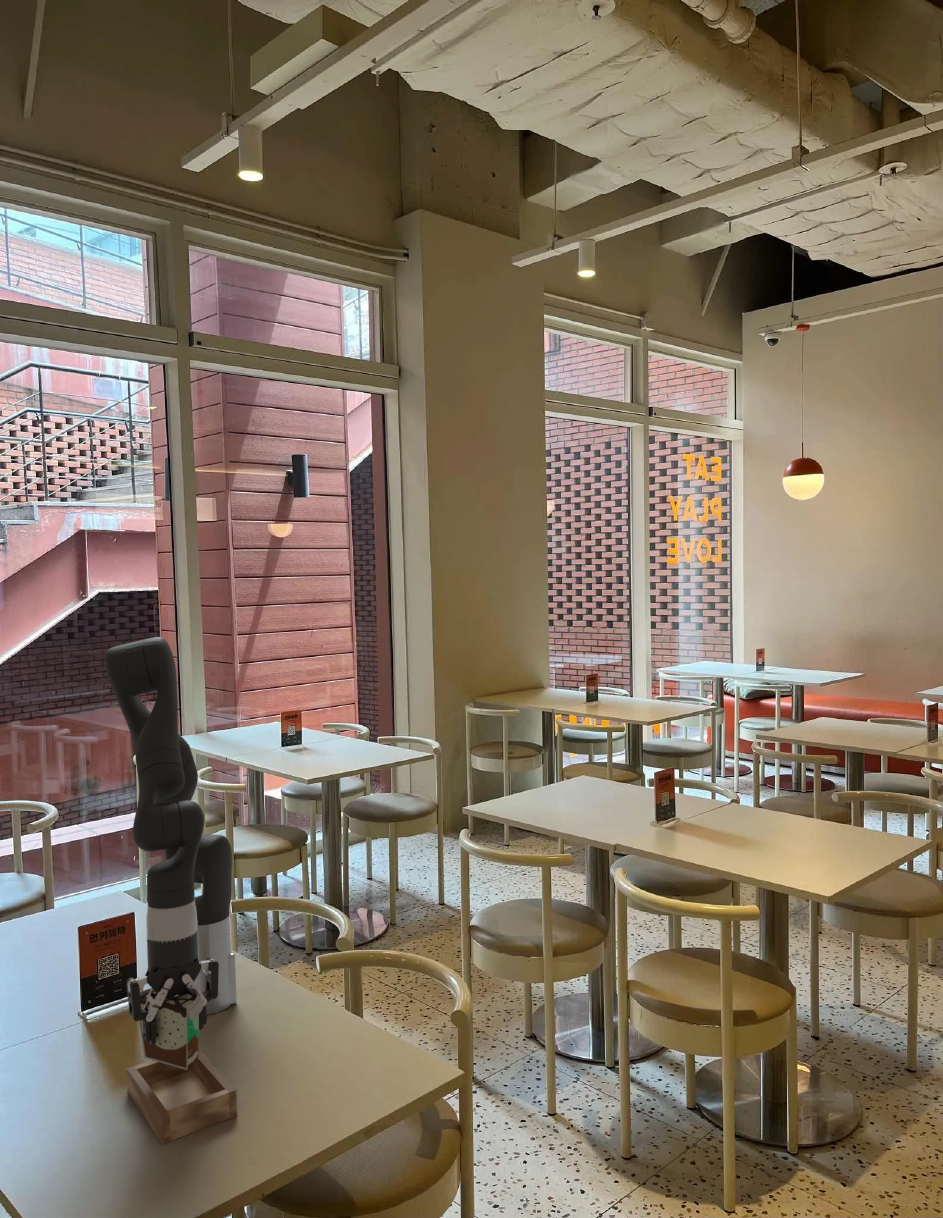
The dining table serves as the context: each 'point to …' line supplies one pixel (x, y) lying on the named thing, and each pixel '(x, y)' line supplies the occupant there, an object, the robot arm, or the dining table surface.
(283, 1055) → the dining table surface
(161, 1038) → the food container
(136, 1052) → the dining table surface
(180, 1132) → the wooden box
